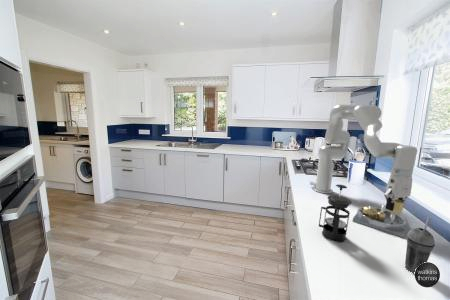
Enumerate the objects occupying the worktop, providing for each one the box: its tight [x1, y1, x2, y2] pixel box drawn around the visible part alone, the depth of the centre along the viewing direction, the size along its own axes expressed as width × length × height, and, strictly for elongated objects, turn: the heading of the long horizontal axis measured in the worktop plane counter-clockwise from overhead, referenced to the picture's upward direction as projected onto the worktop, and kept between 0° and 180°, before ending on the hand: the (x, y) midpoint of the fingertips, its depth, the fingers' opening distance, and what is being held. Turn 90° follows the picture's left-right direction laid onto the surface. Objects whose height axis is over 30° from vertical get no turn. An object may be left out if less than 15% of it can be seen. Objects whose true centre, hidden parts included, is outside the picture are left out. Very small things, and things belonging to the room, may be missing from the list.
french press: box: [318, 184, 352, 243], centre depth 92 cm, size 12×9×23 cm
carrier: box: [352, 204, 408, 239], centre depth 109 cm, size 20×20×7 cm
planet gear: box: [386, 197, 405, 214], centre depth 102 cm, size 6×6×5 cm
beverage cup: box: [404, 216, 436, 275], centre depth 73 cm, size 7×7×20 cm
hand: (394, 208), depth 103 cm, fingers closed on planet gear, 5 cm apart
